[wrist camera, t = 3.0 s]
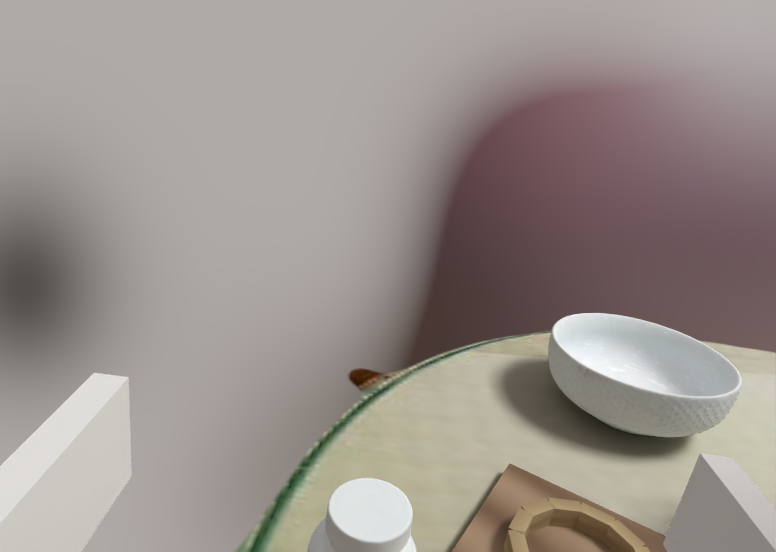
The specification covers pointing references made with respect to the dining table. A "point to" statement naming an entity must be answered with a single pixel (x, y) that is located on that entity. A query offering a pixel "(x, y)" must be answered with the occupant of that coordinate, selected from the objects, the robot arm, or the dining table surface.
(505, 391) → the dining table surface
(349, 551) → the supplement bottle
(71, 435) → the robot arm
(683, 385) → the cereal bowl
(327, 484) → the dining table surface
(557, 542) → the collar stand
